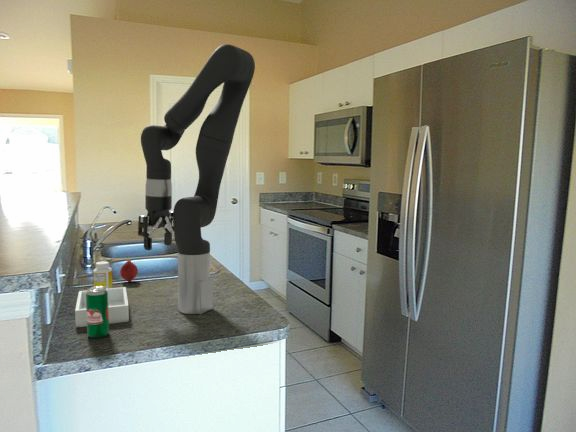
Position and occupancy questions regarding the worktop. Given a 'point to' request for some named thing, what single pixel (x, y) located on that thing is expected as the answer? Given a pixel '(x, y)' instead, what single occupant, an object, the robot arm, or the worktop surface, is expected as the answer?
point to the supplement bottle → (103, 275)
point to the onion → (128, 271)
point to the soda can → (97, 312)
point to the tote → (115, 307)
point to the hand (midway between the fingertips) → (158, 247)
